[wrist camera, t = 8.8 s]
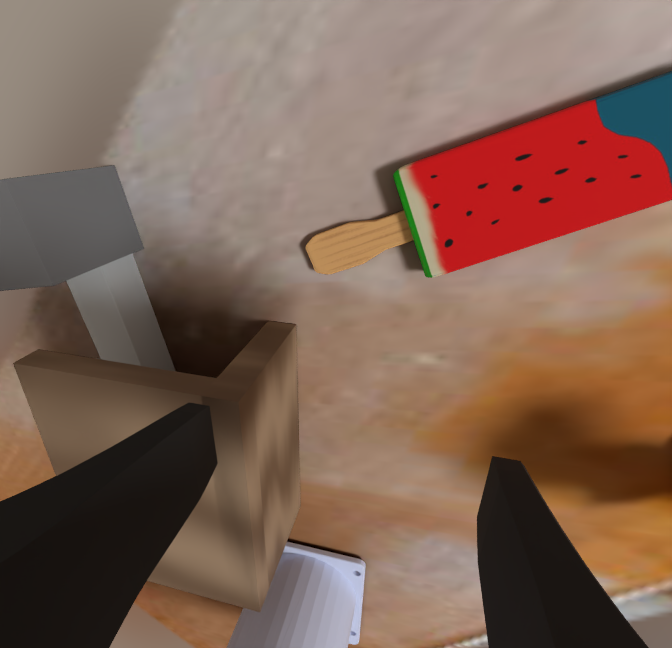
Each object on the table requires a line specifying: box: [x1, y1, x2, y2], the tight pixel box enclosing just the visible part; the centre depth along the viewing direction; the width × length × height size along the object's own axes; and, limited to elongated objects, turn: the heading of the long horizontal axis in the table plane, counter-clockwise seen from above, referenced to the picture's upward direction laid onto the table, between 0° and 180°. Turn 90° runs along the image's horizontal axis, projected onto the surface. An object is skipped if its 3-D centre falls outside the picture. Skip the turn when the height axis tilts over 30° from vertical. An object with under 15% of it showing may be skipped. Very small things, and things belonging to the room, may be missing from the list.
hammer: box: [0, 165, 175, 371], centre depth 21 cm, size 18×4×6 cm, turn 9°
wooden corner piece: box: [13, 321, 301, 612], centre depth 22 cm, size 13×10×7 cm
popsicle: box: [306, 71, 672, 277], centre depth 16 cm, size 5×2×15 cm
